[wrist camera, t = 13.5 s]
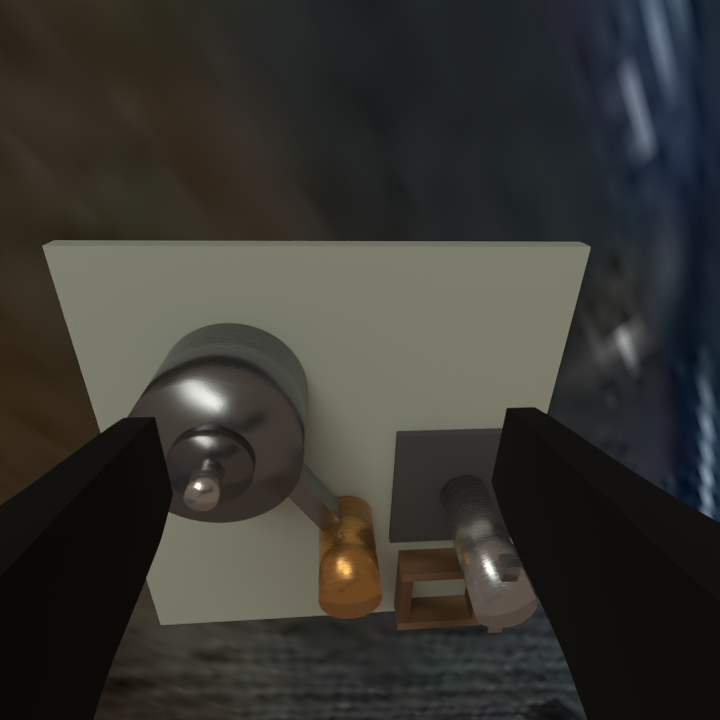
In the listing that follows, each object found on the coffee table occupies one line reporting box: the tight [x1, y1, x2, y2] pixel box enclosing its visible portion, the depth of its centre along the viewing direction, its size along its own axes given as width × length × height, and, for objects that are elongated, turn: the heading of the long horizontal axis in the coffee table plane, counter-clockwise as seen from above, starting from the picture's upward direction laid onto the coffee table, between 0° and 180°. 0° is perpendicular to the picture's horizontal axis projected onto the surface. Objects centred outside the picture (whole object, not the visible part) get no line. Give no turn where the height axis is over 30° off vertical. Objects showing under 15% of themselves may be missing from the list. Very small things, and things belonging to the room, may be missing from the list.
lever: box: [288, 462, 382, 619], centre depth 20 cm, size 6×3×4 cm, turn 32°
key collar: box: [394, 548, 480, 630], centre depth 25 cm, size 5×5×2 cm
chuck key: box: [439, 475, 537, 633], centre depth 20 cm, size 2×4×6 cm, turn 178°
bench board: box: [43, 240, 591, 625], centre depth 22 cm, size 20×22×1 cm
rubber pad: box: [389, 428, 510, 543], centre depth 23 cm, size 7×7×1 cm
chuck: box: [127, 323, 307, 523], centre depth 16 cm, size 6×6×6 cm
